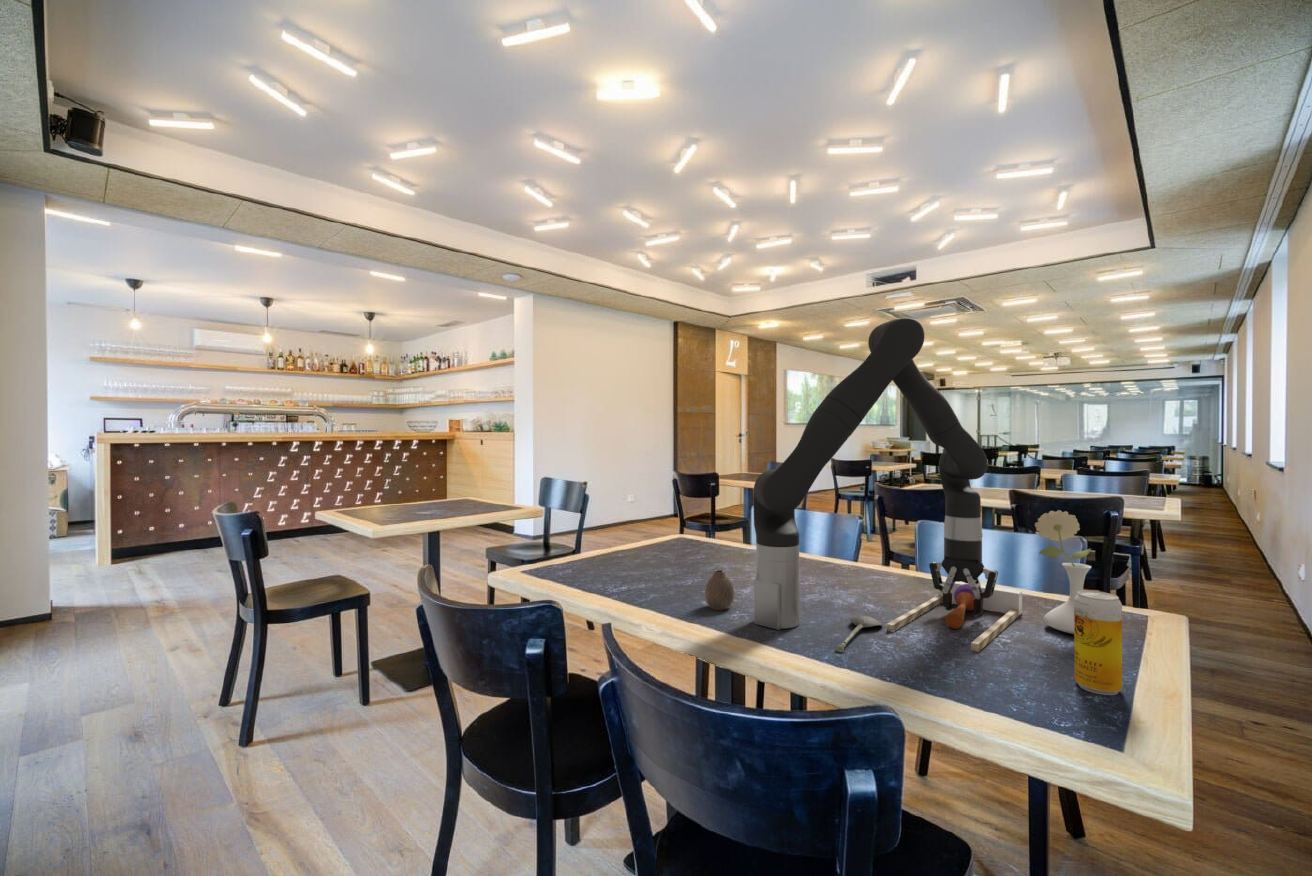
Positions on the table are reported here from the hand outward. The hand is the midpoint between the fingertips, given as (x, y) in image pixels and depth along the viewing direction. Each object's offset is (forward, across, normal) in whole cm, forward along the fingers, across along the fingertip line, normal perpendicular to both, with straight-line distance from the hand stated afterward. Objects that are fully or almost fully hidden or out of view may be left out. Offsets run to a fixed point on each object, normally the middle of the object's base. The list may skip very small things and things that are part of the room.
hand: (962, 611), depth 129 cm
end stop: (+1, 0, +12) cm, 12 cm away
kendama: (+1, 0, 0) cm, 1 cm away
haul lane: (+1, 0, -5) cm, 5 cm away
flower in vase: (+1, +19, +6) cm, 20 cm away
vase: (+2, -44, -32) cm, 54 cm away
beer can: (+2, +27, -25) cm, 37 cm away
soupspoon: (+2, -12, -28) cm, 30 cm away
